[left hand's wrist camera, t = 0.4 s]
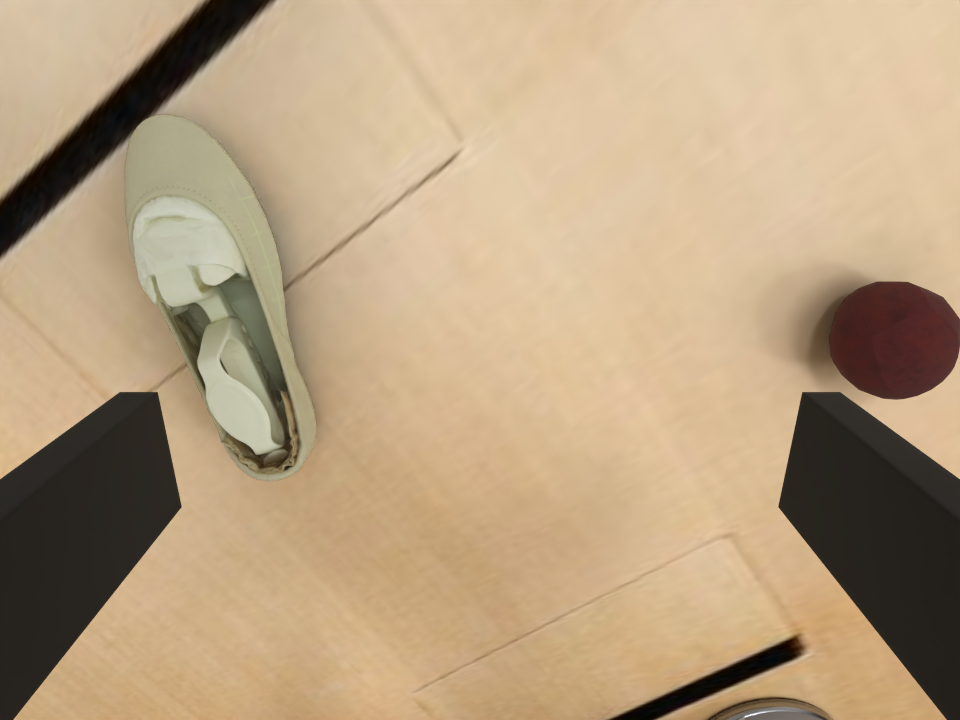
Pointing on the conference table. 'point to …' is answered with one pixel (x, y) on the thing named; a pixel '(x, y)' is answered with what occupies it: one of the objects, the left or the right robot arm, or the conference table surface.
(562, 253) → the conference table surface
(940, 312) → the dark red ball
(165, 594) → the conference table surface
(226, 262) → the ballet flat
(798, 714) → the right robot arm
